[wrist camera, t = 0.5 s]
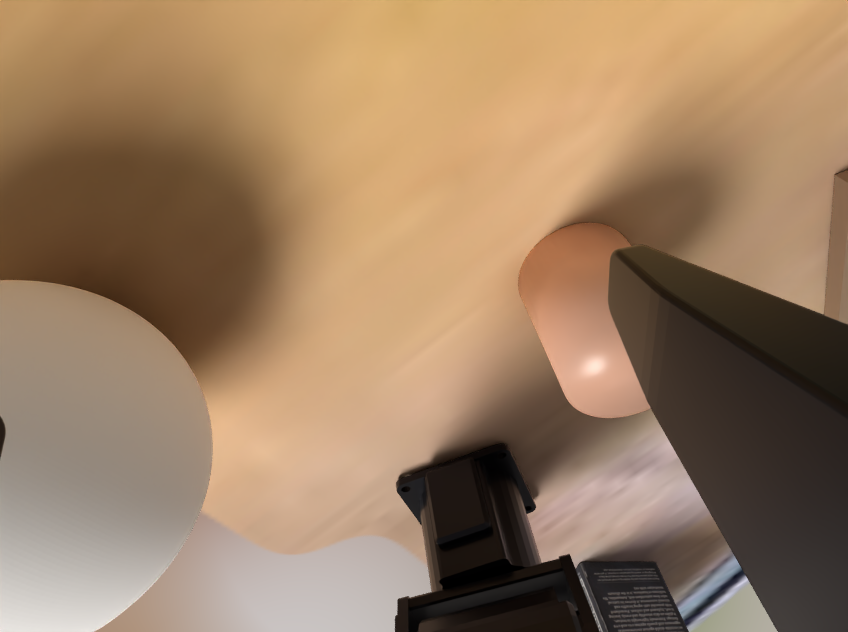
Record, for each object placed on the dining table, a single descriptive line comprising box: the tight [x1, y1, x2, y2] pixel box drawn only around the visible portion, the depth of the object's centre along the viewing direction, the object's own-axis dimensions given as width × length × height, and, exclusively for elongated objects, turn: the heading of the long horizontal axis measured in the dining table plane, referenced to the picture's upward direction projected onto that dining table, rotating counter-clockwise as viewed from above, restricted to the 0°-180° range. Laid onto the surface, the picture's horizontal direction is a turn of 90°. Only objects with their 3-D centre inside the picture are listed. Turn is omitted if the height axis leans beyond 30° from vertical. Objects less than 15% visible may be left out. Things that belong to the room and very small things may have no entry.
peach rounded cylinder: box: [518, 223, 651, 418], centre depth 23 cm, size 5×5×6 cm
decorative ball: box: [0, 280, 213, 632], centre depth 20 cm, size 12×12×12 cm
